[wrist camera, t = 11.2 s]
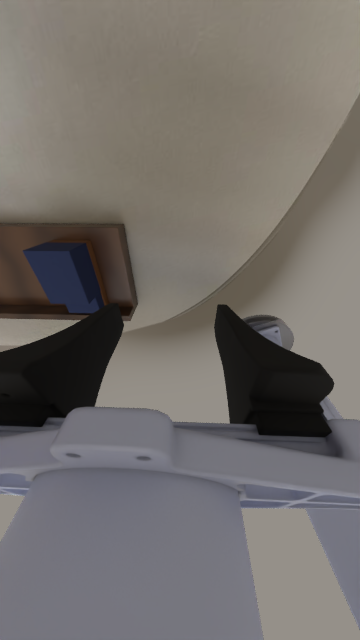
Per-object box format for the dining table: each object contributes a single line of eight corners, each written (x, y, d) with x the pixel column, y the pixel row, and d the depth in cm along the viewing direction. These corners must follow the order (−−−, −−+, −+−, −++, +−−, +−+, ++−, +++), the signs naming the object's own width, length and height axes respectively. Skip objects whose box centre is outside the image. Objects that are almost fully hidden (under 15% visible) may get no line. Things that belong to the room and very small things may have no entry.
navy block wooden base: (52, 239, 17) (21, 250, 14) (90, 240, 17) (68, 251, 14) (78, 302, 22) (60, 321, 18) (109, 303, 22) (96, 322, 18)
